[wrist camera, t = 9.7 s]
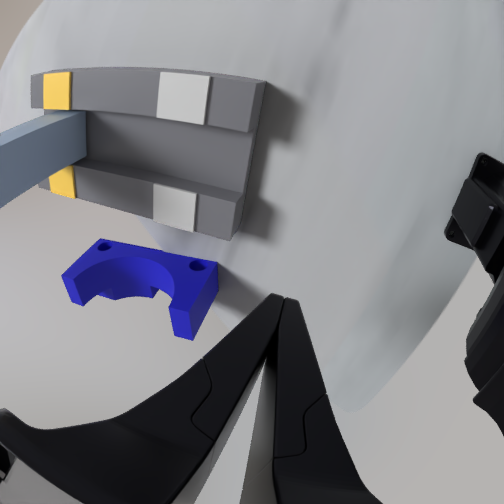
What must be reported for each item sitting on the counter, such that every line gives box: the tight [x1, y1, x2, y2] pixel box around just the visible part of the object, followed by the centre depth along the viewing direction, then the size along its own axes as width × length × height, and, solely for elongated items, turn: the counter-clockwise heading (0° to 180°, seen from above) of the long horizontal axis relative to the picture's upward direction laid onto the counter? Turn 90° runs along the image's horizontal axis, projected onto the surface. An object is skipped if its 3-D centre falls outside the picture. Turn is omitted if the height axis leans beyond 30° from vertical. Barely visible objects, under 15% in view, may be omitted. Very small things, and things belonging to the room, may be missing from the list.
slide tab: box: [0, 110, 87, 208], centre depth 16 cm, size 3×4×10 cm
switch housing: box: [31, 67, 266, 241], centre depth 19 cm, size 18×10×3 cm, turn 81°
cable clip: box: [61, 238, 218, 341], centre depth 25 cm, size 12×4×6 cm, turn 88°
